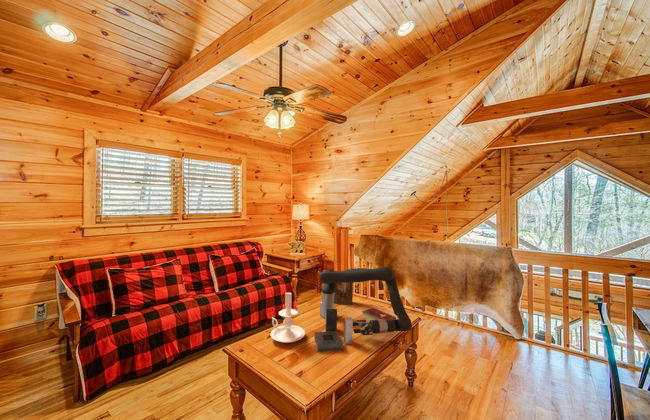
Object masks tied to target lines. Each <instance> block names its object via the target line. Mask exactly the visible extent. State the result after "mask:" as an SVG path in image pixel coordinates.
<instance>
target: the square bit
mask: <svg viewBox="0 0 650 420" xmlns="http://www.w3.org/2000/svg"><path fill="white" fill-rule="evenodd" d="M343 318H344V319H343V343H344V344H345V345H352V344H353V327H354V326H353V319H352V317H351V316H350V317H349V316H347V317H346V316H345V317H343Z"/></svg>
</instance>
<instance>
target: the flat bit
mask: <svg viewBox="0 0 650 420" xmlns="http://www.w3.org/2000/svg"><path fill="white" fill-rule="evenodd" d="M324 329H325V332H326V331H338V308H334V309H326V318H325V328H324Z"/></svg>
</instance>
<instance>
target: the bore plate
mask: <svg viewBox="0 0 650 420" xmlns="http://www.w3.org/2000/svg"><path fill="white" fill-rule="evenodd" d="M313 339H314V343H315V347H316V351H317V353H319V352H333V351H343V350H344V349H343V347H344V346H343V344H344V342H343V340H342V338H341V336H340V333H339V331H338V330H337V331H326V330H325V331H315V332H314V338H313Z"/></svg>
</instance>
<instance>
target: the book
mask: <svg viewBox="0 0 650 420" xmlns="http://www.w3.org/2000/svg"><path fill="white" fill-rule="evenodd" d="M339 271H340V270H334V272H339ZM353 285H354V283H352V282H350V283H344V282H338V283H336V287H335V291H334V304H338V305H339V304H341V305H353V290H354V287H353Z"/></svg>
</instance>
